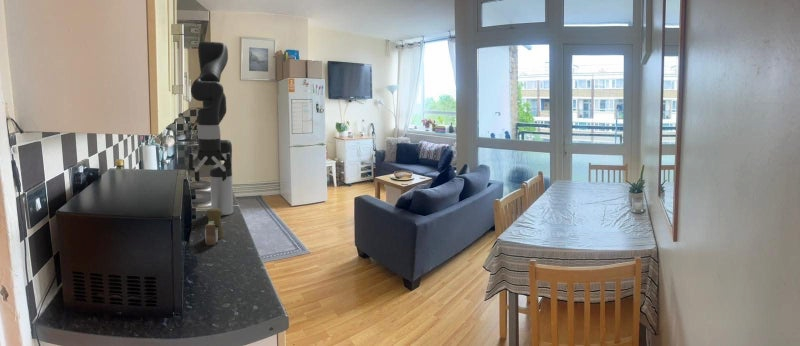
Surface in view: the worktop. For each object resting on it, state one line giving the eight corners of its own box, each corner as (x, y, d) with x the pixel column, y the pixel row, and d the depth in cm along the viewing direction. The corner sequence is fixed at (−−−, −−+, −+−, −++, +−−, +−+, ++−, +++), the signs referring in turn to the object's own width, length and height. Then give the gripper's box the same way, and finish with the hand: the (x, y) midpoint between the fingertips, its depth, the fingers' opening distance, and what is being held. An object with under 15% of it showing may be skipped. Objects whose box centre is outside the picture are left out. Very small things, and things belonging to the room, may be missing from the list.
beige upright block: (207, 240, 168) (207, 221, 167) (216, 240, 169) (215, 220, 168) (206, 245, 163) (205, 225, 162) (215, 244, 164) (214, 224, 163)
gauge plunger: (206, 239, 169) (205, 222, 168) (218, 238, 170) (218, 221, 169) (204, 243, 164) (204, 225, 163) (217, 242, 166) (217, 225, 165)
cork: (227, 235, 175) (226, 207, 173) (217, 240, 169) (216, 211, 167) (213, 234, 176) (212, 206, 174) (202, 238, 170) (201, 210, 169)
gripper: (230, 136, 172) (232, 179, 174) (189, 136, 167) (191, 180, 170) (229, 138, 165) (231, 182, 167) (186, 138, 160) (188, 183, 163)
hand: (211, 181), depth 169 cm, fingers open, 8 cm apart
